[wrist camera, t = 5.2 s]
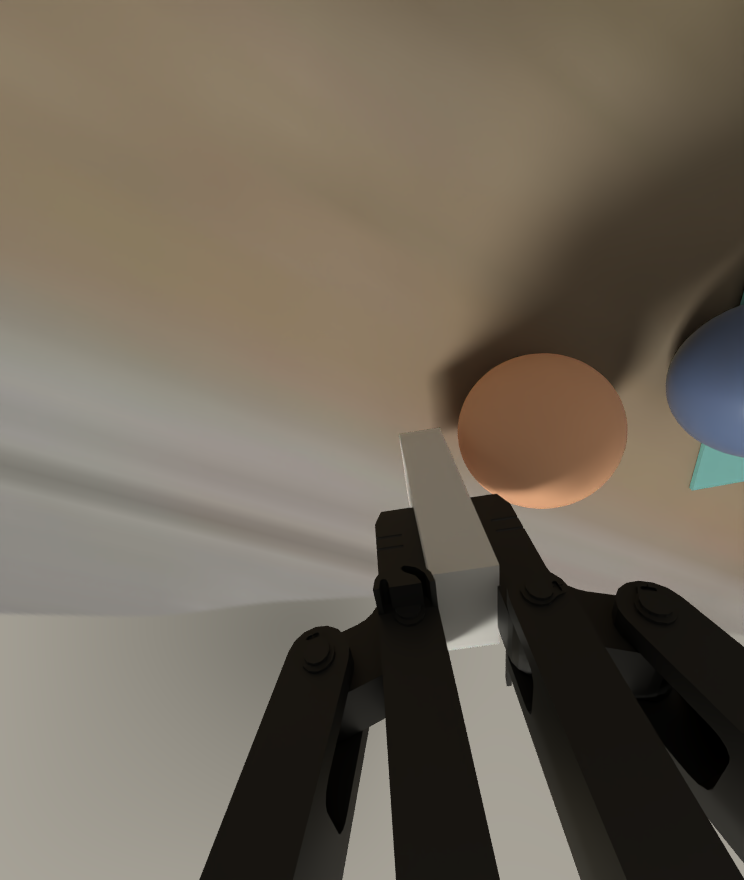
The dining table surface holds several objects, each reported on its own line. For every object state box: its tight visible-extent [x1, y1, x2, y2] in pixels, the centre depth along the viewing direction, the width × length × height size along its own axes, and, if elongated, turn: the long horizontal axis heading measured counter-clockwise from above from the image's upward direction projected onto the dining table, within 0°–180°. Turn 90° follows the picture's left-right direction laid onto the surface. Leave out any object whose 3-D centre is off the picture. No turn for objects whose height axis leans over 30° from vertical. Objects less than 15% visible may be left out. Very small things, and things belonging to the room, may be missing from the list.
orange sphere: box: [458, 353, 627, 509], centre depth 14 cm, size 6×6×6 cm
